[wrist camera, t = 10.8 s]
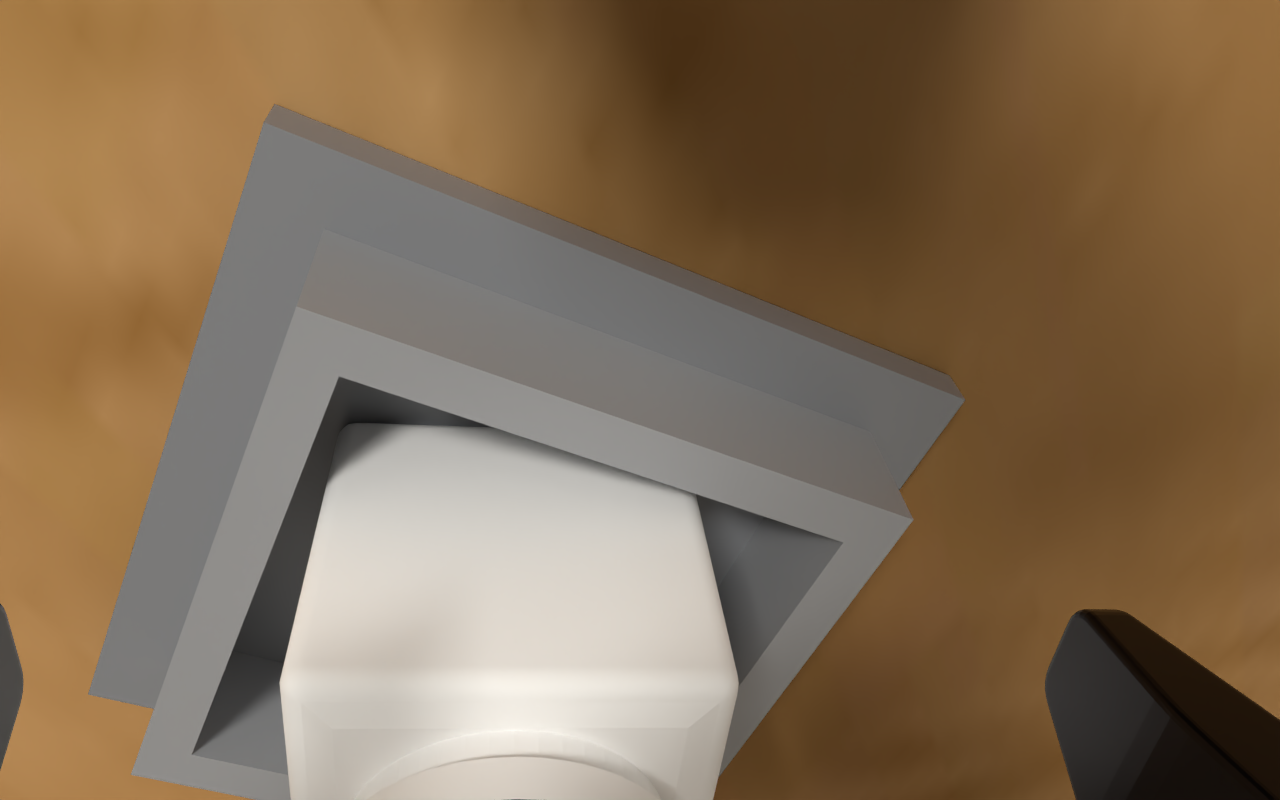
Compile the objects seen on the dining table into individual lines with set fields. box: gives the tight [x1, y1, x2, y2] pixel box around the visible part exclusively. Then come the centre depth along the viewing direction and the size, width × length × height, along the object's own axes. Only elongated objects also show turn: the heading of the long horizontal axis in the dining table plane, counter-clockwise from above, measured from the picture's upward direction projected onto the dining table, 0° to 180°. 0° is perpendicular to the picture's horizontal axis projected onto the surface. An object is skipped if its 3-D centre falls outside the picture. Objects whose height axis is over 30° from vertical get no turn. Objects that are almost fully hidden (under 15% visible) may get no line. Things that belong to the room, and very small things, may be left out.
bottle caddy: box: [88, 104, 965, 800], centre depth 23 cm, size 15×15×4 cm
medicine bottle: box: [279, 423, 739, 800], centre depth 19 cm, size 7×7×12 cm
